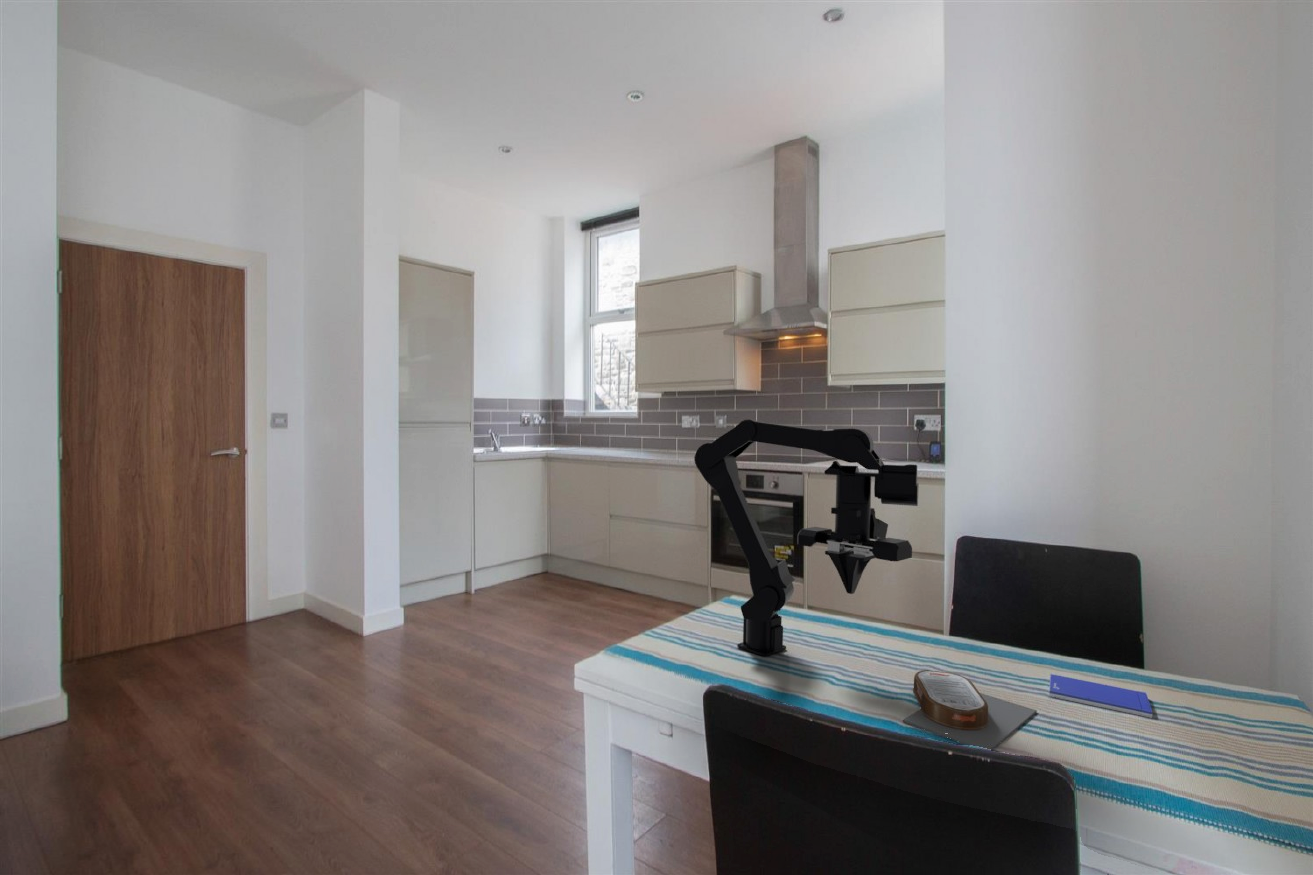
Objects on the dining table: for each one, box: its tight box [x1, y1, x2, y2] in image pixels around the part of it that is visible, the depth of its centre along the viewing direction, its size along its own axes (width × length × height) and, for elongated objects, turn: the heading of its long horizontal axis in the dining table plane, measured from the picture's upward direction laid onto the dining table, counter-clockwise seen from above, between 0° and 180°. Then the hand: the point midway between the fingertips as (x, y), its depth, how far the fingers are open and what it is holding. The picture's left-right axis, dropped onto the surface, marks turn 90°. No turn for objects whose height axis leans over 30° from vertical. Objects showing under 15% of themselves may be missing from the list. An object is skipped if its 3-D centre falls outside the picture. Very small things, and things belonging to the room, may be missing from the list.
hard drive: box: [1048, 673, 1153, 719], centre depth 96 cm, size 2×8×12 cm
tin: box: [912, 669, 989, 730], centre depth 91 cm, size 15×3×8 cm
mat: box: [902, 692, 1038, 751], centre depth 88 cm, size 11×18×1 cm, turn 132°
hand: (850, 593), depth 107 cm, fingers closed
